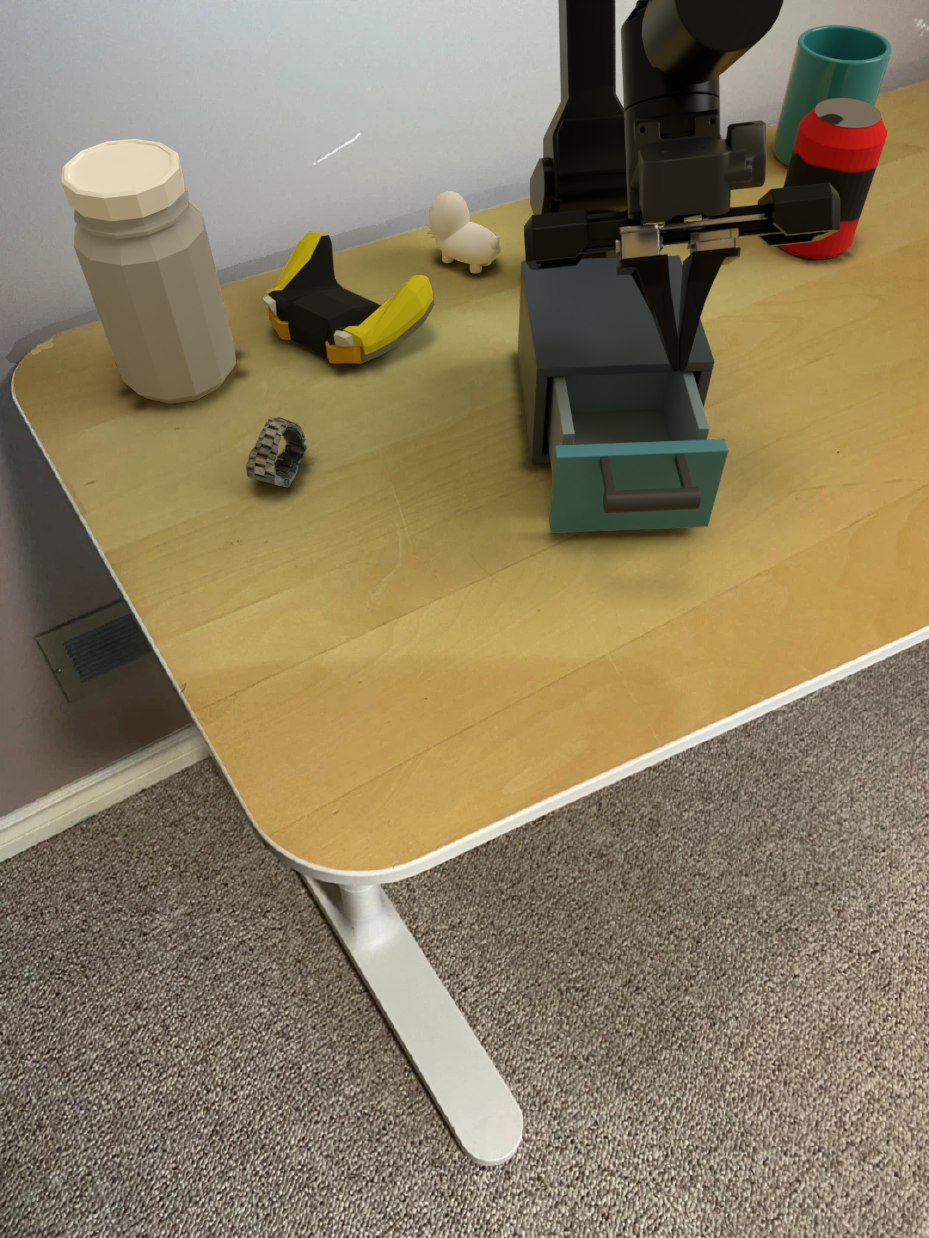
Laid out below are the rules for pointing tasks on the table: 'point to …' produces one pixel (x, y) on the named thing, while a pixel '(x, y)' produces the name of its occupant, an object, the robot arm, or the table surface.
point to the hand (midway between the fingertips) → (679, 371)
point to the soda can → (837, 164)
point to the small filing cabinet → (591, 333)
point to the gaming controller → (341, 308)
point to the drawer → (630, 452)
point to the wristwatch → (266, 450)
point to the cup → (829, 75)
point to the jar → (149, 269)
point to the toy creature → (461, 233)
